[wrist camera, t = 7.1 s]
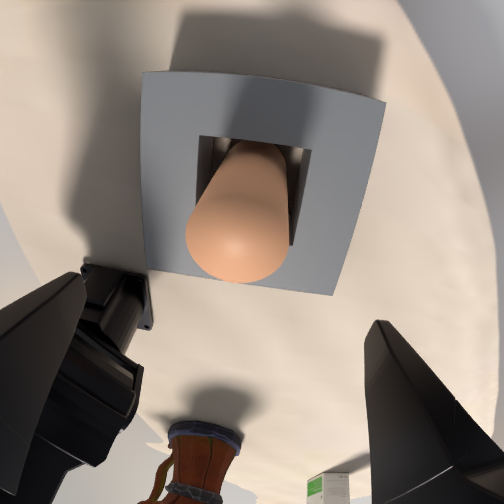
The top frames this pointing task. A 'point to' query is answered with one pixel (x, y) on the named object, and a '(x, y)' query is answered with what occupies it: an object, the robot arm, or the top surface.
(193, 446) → the mug
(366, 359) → the robot arm
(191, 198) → the socket block
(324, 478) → the skincare box
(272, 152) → the peg
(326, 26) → the top surface
